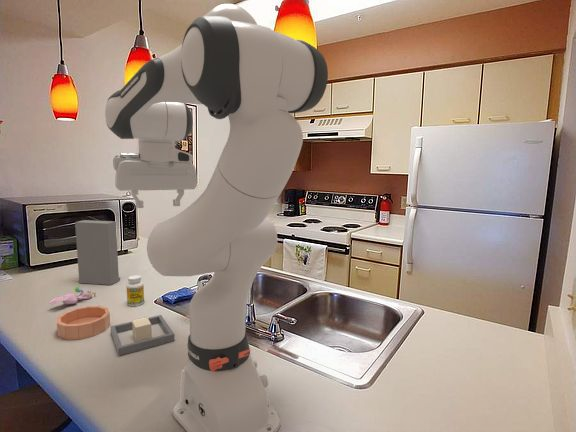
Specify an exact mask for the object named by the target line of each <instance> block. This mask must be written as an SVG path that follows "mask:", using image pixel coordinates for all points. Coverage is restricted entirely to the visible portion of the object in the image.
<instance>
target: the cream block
mask: <svg viewBox="0 0 576 432" xmlns="http://www.w3.org/2000/svg"><path fill="white" fill-rule="evenodd" d="M148 318H149V317H148V316H147V317H145V316H144V317H142V318H137V319H133V320H131V321H132V329H131V330H132V336H133V338H134V341H135V342H138V341H142V340H146V339H150V338H153V336H152V335H153V334H152V325H151V323H150V321H149V320H148Z"/></svg>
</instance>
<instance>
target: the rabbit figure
mask: <svg viewBox="0 0 576 432" xmlns="http://www.w3.org/2000/svg"><path fill="white" fill-rule="evenodd" d="M80 287H81V286H79V285H77V286H76V287H75V288H74V291H75V292H76V293H73V292H72V293H66V294H64V295H62V296H58V297H54V298H53V299H51V300H50V301H49V302H48V304H49V305H50V304H51V305H52V306H53V305H56V304H57V303H60V302H62V303H63V304H65V305H69V306H71V305H74V304H76V303H77V302H78V301H81V300H90V299H92V298H93V296H94V297H96V296H97V295H96V292H93V291H91V290H90V291H88V290H87V291H84V290H83V289H82V288H80ZM77 293H79V295H77Z"/></svg>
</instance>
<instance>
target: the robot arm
mask: <svg viewBox="0 0 576 432" xmlns="http://www.w3.org/2000/svg"><path fill="white" fill-rule="evenodd" d="M325 58H326V57H325V56H324V55H323V54H322V52H320V50H318V49H317V48H316V47H315V46H313V45H312V44H310V43H308V42H307V41H305V40H302V39H295V38H293V37H291V36H288V35H286V34H283V33H281V32H278V31H275V30H273V29H271V28H270V27H268V26H264V25H263V26H262V25H260V24H258V23H257V21H256V19H255V17H253V16H252V15H251V14H250V13H249V11H247V9H245V8H243V7H242V6H239V5H238V4H237V5H236V4H233V3H223V4H219V5H217V6H215V7H213V8H212V9H211V10H210V11H208V12H207V13H206V14H204V16H199V17H197V18H195V19H194V20H193V21H192V22H191V23H190V25H189V26H188V28H187V29H186V31H185V33H184V36H183V40H182V43H181V44H180V45H179V46H177V47H176V48H174V49H173V50H170V52H168V53H166V54H163V55H161V56H159V57H155V58H153V59H151V60H148V61H147V62H146V63H144V65H142V66H141V67H140V68H139V69H138V70H137V71H136V72H135V73H134V75H133V76H132V77H131V78H130V79H129V80H128V81H127V82H126V83H125V85H123V87H122V88H120V89H119V90H117V91H115V92H114V93H113V94H111V95H110V97H109V98H108V99H107V102H106V104H105V111H104V113H105V114H104V115H105V117H104V118H105V123H106V126H107V127H108V129H109V130H110V132H112V133H113V134H114V135H115V136H117V137H118V138H119V139H120V140H124V139H125V140H134V139H138V153H125V152H122V153H119V154H117V155H115V156H114V157H113V159H112V163H113V165H112V166H113V169H114V170H115V180H114V184H115V185H114V186H115V188H116V189H117V190H119V191H125V192H126V191H130V194H131V196H132V198H133V200H134V201H135V202H136V203H135V204H136V205H135V207H136V209H143V208H144V200H140V199H139V198H138V195H139V191H176V193H177V196H176V198H174V199H172V205H173V207H181V201H182V198H183V196H184V195H185V190H195V189H197V187H198V177H197V170H196V167H195V165H194V164H193V161H194V155H192V154H191V153H188V152H186V151H183V150H180V149H178V148H176V144H175V143H176V141H177V142H178V141H183V140H185V139H186V138H187V137H188V136H189V135H190V134H191V133H192V131H193V125H194V124H193V120H194V119H193V113H192V111H191V109H190V107H189V106H188V105H187V104H192V105H193V104H194V105H203V106H205V107H206V108H207V111H208V113H209V115H210V116H211V117H212V118H214V119H216V120H224V119H226V117H228V120H229V134H228V138H227V140H226V142H225V145H224V147H223V149H222V152H221V154H220V157H219V158H218V162H217V163H216V166H215V169H214V171H213V172H212V175H211V178H210V180H209V181H208V183H207V186H206V188H205V190H204V191H203V192H202V193H201V195H200V196H198V198H197V199H195V201H194V202H192V203H191V204H190V205H189V206H188V207H186V208H185V209H184V210H182V211H180V212H179V213H177V214H176V215H174V216H172V217H171V218H168V219H166V220H164V221H162V222H159V223H156V225H155V226H154V228H153V229H152V230H151V232H150V233H149V236H148V239H147V242H146V243H147V244H146V253H147V258H148V261H149V263H150V264H151V266H152V267H153V269H154V270H155V271H156V272H158V274H160V275H161V276H163V277H194V276H199V275H205V274H211V273H213V275H212V276H211V278H210V279H209V281H208V282H207V283H205V284H204V285H203V286H202V287H200V289H198V290H197V291H196V292H195V293H194V294H193V296H192V298H191V300H190V302H189V335H188V338H187V345H186V347H187V357H188V359H187V362H185V363H186V364H185V365H184V367H183V368H182V370H181V372H180V387H179V389H180V391H179V392H180V393H179V401H178V402H177V403H176V404H175V405H174V406H173V409H172V416H173V418H174V419H175V420H176V421H177V422H178V423H179V424H180V425H181V427H182V428H183V429H184V430H185V431H186V432H278V431H279V429H280V428H281V419H280V417H279V416H278V413H277V412H276V409H275V408H274V406H273V404H272V402H271V401H270V398H269V397H268V395H267V391H266V388H267V387H268V386H269V385H268V384H269V383H268V382H269V381H268V378H267V375H266V374H265V375H264V374H262V375H259V372H258V369H257V368H258V363H257V361H256V360H253V358H252V356H251V348H250V340H249V338H248V334H247V333H248V332H247V330H246V316H247V302H248V297H249V293H250V290H251V287H252V285H253V283H254V280H255V278H256V276H257V275H258V273H259V271H260V270H261V268H262V267H263V265H265V263H266V262H268V260H270V258H272V256H273V255H275V252H276V248H277V245H278V232H277V229H276V227H275V224H274V223H273V222H272V220H271V219H270V218H269V217H268V215H269V213H270V212H271V210H272V208H273V207H274V206H275V203H276V202H277V200H278V198H279V197H280V195H281V194H282V193H283V190H284V189H285V187H286V185H287V183H288V181H289V179H290V177H291V176H292V173H293V171H294V168H295V167H296V164H297V161H298V158H299V156H300V153H301V150H302V147H303V141H304V135H303V130H302V126H301V125H300V124H299V122H298V121H297V119H296V118H295V117H294V116H293V115H292V114H297V113H302V112H306V111H309V110H311V109H314V108H315V107H316V106H317V105H318V104H319V103H320V101H321V100H322V98H323V97H324V94H325V92H326V89H327V85H328V79H329V72H328V70H329V68H328V64H327V62H326V59H325Z"/></svg>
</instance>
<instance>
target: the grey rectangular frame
mask: <svg viewBox="0 0 576 432" xmlns="http://www.w3.org/2000/svg"><path fill="white" fill-rule="evenodd" d="M147 318H148V320H149V321H150V323H151V326H153V325H155V324H159V326H160V327H161V329H162V331H163V332H164V333H165V334H162V335H158V336H154V337H152V338H150V339H146V340H142V341H138V342H136V341H135V342H130V343H128V344H123V345H122V342H121V340H120V338H119V333H122V332H127V331H131V330H132V320H131V321H128V322H123V323H119V324H114V325H110V326H109V327H110V334H111V337H112V340H113V343H114V347H115V350H116V352H117V356H118V357H120V356H124V355H127V354H131V353H134V352H138V351H143V350H145V349H150V348H152V347H153V348H154V347H157V346H160V345H165V344H168V343H171V342H175V332H173V329H172V328H171V327H170V325H169V323H167V321H166V320H165V319H164V317H163V315H162V314H159V315H155V316H150V317H147Z"/></svg>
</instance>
